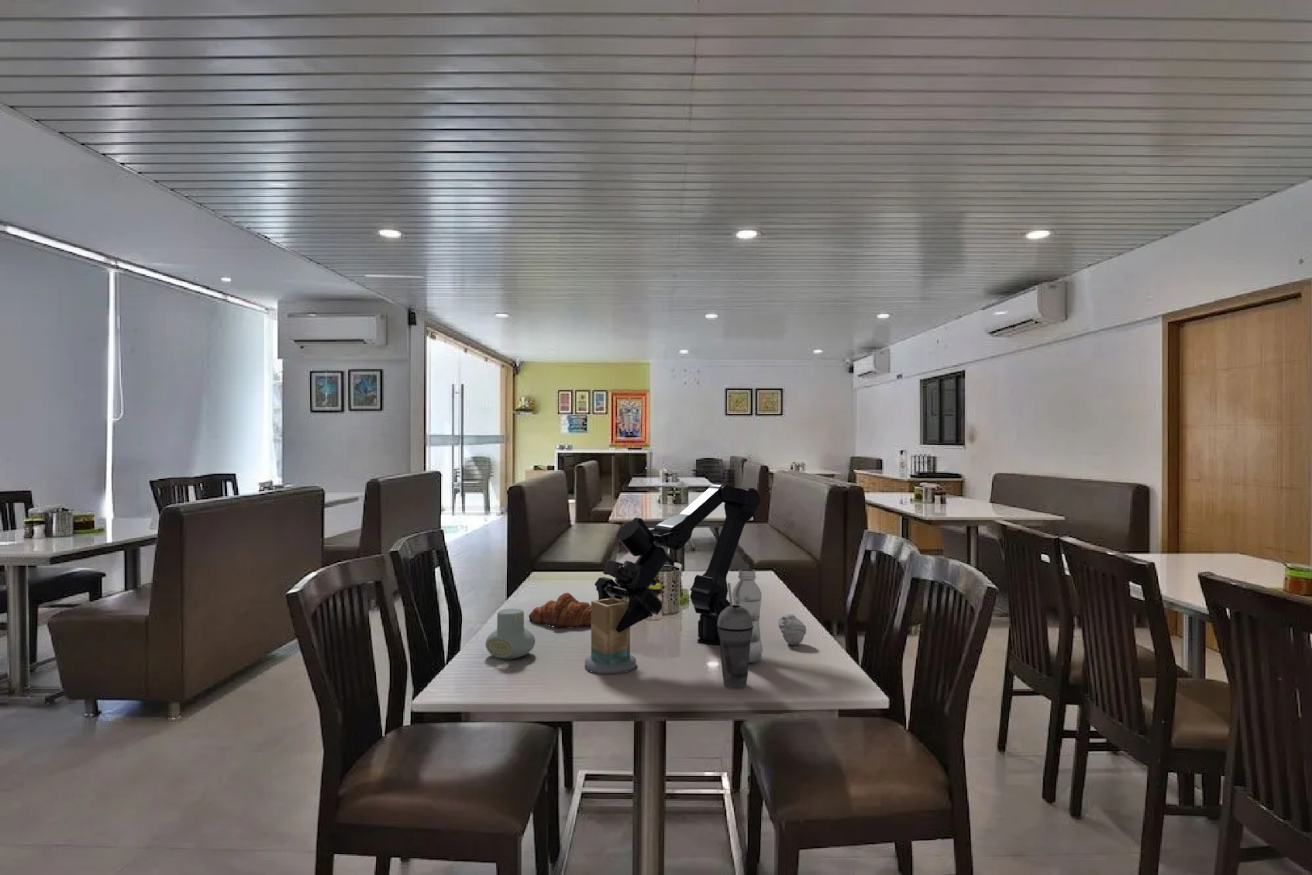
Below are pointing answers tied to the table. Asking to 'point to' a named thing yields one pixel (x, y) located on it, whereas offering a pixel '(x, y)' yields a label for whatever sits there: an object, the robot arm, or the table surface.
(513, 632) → the air freshener
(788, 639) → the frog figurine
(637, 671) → the table surface
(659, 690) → the table surface
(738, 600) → the plastic bottle
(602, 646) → the banded sleeve
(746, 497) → the robot arm
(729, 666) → the beverage cup
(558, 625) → the pastry
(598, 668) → the pin stand
